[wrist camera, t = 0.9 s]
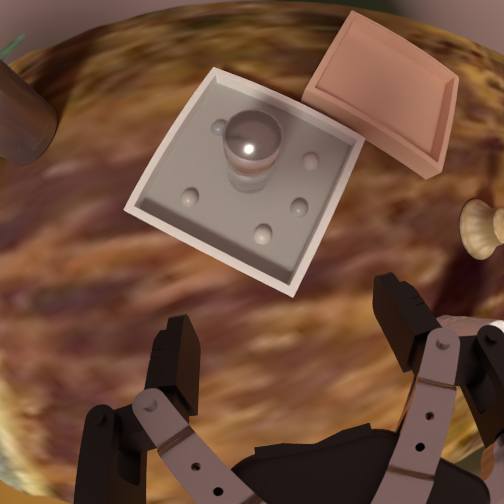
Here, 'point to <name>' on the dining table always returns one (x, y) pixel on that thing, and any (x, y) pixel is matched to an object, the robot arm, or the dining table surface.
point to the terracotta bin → (386, 93)
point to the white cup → (467, 324)
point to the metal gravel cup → (251, 149)
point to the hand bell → (481, 228)
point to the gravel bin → (241, 204)
